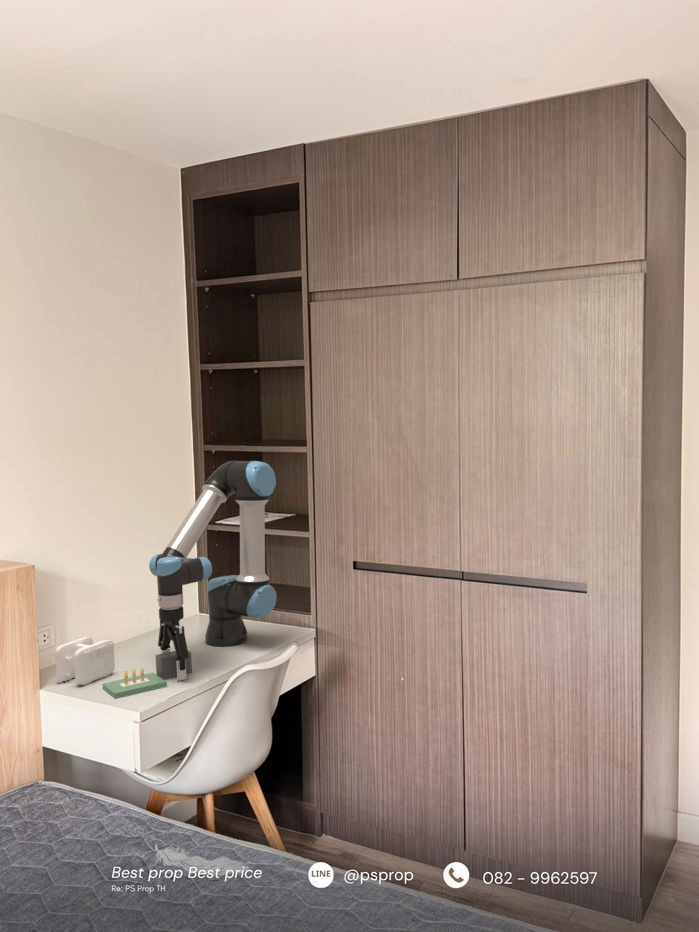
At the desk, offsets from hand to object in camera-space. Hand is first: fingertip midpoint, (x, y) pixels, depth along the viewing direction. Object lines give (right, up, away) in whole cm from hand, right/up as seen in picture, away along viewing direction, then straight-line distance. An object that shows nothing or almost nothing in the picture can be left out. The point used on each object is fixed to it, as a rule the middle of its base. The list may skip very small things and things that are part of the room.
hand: (174, 674), depth 266 cm
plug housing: (0, 0, 0) cm, 0 cm away
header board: (-10, -1, -10) cm, 14 cm away
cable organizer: (-27, -1, 0) cm, 27 cm away
